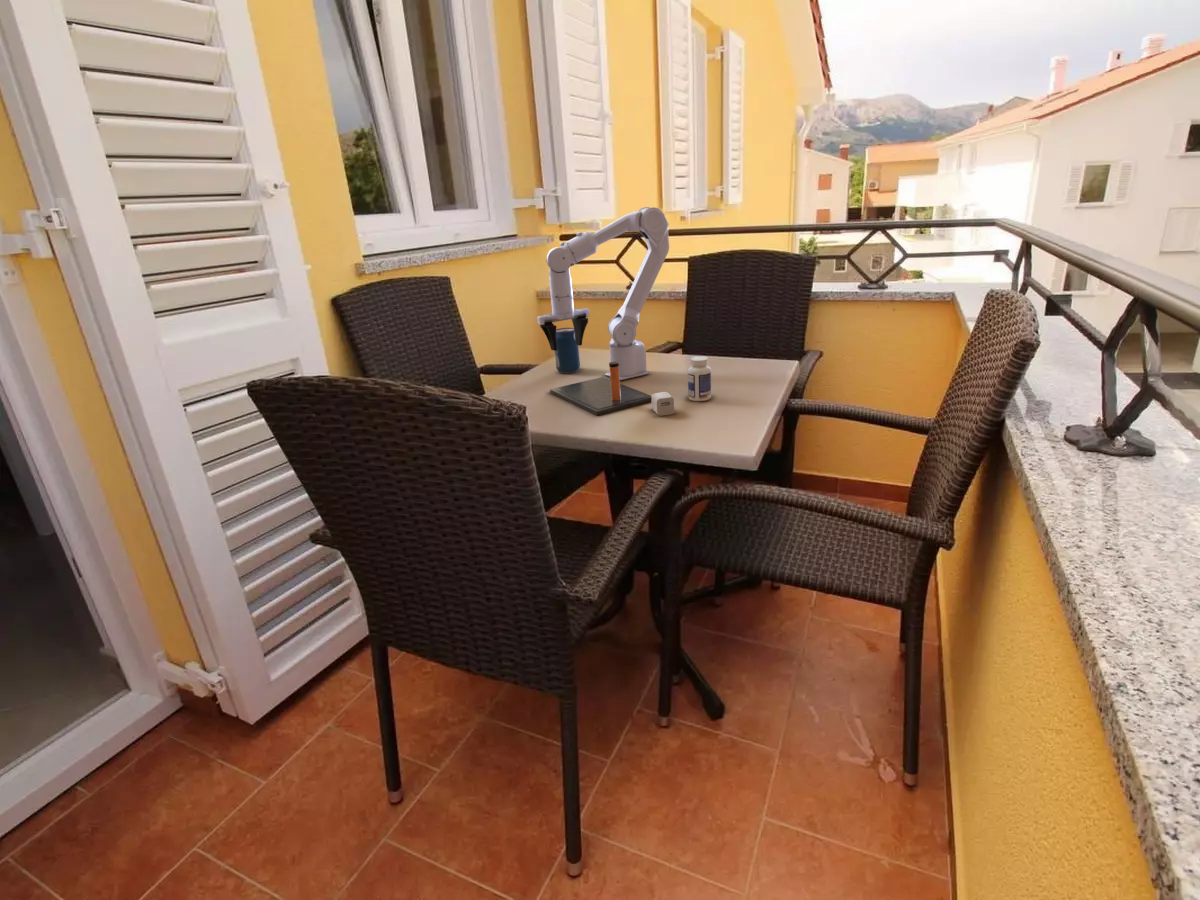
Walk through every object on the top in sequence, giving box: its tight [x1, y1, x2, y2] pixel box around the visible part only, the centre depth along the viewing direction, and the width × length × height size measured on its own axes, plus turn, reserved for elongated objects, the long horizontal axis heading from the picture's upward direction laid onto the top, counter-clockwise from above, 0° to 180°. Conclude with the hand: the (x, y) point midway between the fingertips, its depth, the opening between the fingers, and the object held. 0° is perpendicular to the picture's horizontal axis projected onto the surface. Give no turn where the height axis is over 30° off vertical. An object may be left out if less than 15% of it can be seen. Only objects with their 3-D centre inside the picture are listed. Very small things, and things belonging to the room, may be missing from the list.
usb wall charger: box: [651, 391, 675, 417], centre depth 142 cm, size 4×7×4 cm, turn 11°
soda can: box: [554, 327, 581, 374], centre depth 179 cm, size 7×7×12 cm
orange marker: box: [608, 361, 621, 401], centre depth 148 cm, size 2×2×9 cm
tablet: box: [549, 376, 652, 416], centre depth 156 cm, size 16×24×1 cm, turn 31°
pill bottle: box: [687, 355, 712, 402], centre depth 147 cm, size 5×5×10 cm
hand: (566, 347), depth 168 cm, fingers open, 7 cm apart
